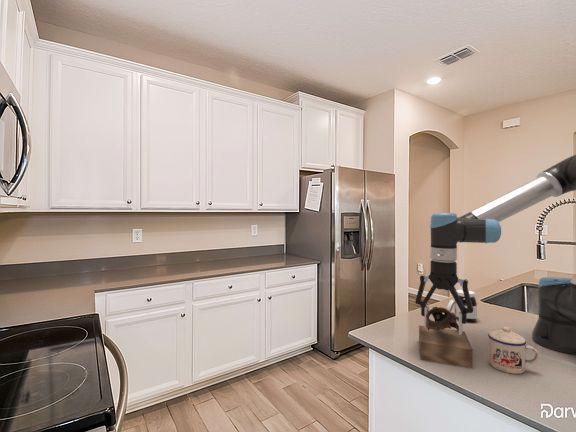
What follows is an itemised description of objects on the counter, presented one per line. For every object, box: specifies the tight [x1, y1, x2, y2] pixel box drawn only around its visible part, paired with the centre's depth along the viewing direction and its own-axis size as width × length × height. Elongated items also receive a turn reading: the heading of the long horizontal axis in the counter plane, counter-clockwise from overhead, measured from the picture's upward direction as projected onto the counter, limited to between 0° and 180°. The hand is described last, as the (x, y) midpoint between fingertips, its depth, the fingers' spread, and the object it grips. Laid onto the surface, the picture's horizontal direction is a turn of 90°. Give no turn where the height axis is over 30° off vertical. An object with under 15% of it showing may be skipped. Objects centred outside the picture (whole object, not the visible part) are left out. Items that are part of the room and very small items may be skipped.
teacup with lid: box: [487, 326, 540, 375], centre depth 87 cm, size 12×9×12 cm
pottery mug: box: [426, 306, 459, 333], centre depth 96 cm, size 12×10×8 cm
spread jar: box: [445, 289, 478, 323], centre depth 128 cm, size 12×11×12 cm
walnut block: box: [418, 325, 474, 369], centre depth 96 cm, size 14×14×6 cm
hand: (443, 329), depth 96 cm, fingers closed on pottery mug, 9 cm apart
